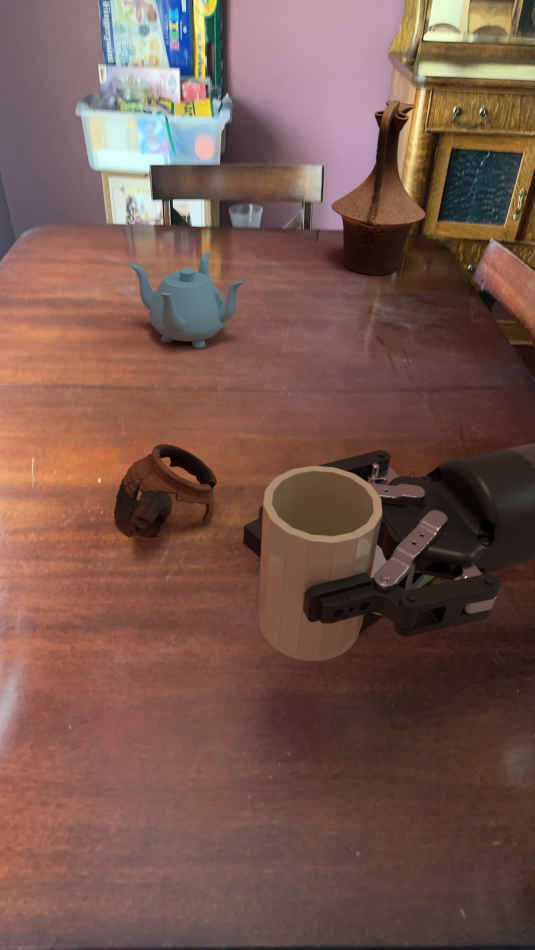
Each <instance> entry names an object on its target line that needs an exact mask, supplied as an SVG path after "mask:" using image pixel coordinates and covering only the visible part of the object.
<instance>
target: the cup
mask: <svg viewBox="0 0 535 950" xmlns="http://www.w3.org/2000/svg"><path fill="white" fill-rule="evenodd" d="M262 505H263V518H262V541H261V557H260V566H259V567H260V569H259V587H258V589H259V590H258V612H257V613H258V614H257V615H258V625H259V629H260V631H261V633H262V635H263V637H264V638H265V640H266V642H268V644H269V645H270V646H272V648H274V649H275V650H276V651H278V652H280V653H281V654H283V655H284V656H287V657H289V658H292V659H294V660H299V661H304V662H322V661H327V660H332V659H334V658H337V657H339V656H341V655H343V654H345V653H346V652H347V651H348V650H350V649H351V648H352V646H353V645H354V644H355V643H356V642H357V640H358V638H359V636H360V633H361V632H360V628H361V626H362V621H363V616H364V614H363V615H360V616H356V617H353V618H349V619H348V618H347V619H346V620H340V621H339V622H335V623H332V624H329V623H321V622H320V621H316V622H310V621H308V619H307V617H306V615H305V613H304V612H303V603H304V594H305V591H306V590H307V589H308V588H309V587H311V586H314V585H318V584H322V583H326V582H329V581H333V580H338V579H342V578H347V577H351V576H353V575H356V574H360V573H364V572H366V573H367V574H368V575H369V577H370V578H371V573H372V567H373V562H374V556H375V551H376V546H377V540H378V535H379V529H380V524H381V519H382V503H381V498H380V497H379V495H378V494H377V492H376V491H375V490H374V488H373V487H372V485H371V484H369V483H368V482H366V481H365V480H363V479H362V478H360V477H359V476H357V475H356V474H353V473H350V472H347V471H344V470H341V469H338V468H334V467H323V466H318V465H309V466H303V467H297V468H292V469H289V470H287V471H286V472H283V473H282V474H279V475H277V476H275V477H274V478H273V480H272V481H271V482H270V483H269V484H268V486H267V487H266V488H265V490H264V495H263V501H262ZM359 632H360V633H359Z"/></svg>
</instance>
